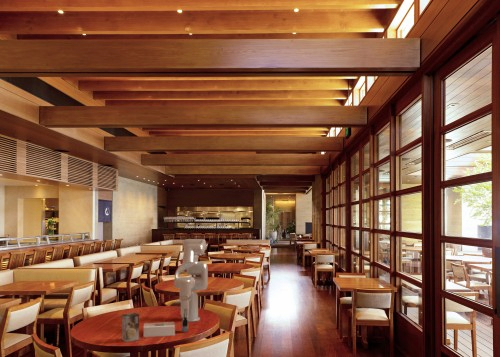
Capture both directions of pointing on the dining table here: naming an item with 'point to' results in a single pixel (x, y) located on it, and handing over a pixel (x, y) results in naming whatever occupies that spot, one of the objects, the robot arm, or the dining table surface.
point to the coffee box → (130, 327)
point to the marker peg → (184, 328)
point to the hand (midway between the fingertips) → (184, 324)
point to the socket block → (159, 329)
